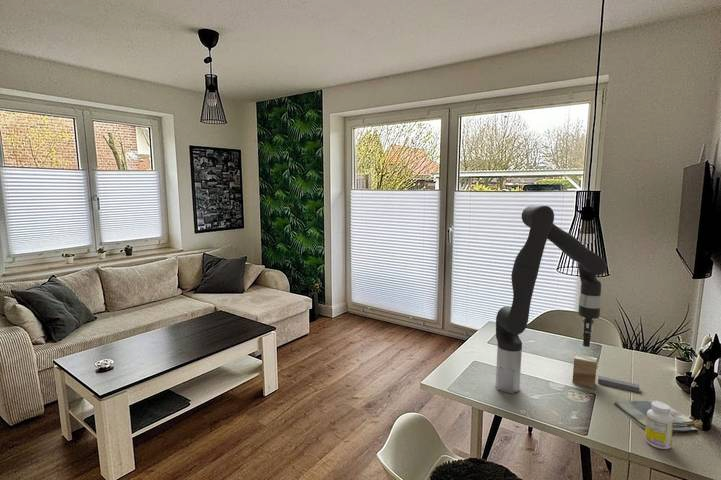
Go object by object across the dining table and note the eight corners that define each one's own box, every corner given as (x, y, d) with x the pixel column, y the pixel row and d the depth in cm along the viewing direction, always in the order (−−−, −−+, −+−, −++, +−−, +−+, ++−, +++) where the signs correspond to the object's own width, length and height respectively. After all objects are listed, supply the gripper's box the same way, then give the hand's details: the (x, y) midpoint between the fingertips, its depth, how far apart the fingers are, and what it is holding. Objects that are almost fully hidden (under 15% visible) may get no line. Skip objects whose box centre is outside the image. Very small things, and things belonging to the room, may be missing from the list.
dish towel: (611, 405, 145) (612, 397, 145) (658, 404, 145) (659, 396, 145) (649, 436, 127) (650, 427, 126) (702, 435, 127) (703, 426, 126)
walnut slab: (594, 388, 156) (596, 362, 155) (572, 382, 161) (574, 357, 159) (595, 383, 160) (597, 358, 159) (573, 378, 164) (575, 353, 163)
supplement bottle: (658, 436, 126) (661, 399, 124) (676, 449, 119) (680, 410, 118) (639, 437, 125) (642, 400, 124) (656, 450, 118) (660, 411, 117)
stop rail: (639, 392, 153) (639, 387, 152) (597, 383, 160) (598, 378, 160) (638, 389, 155) (639, 384, 155) (598, 380, 163) (598, 375, 162)
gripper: (600, 311, 148) (596, 350, 150) (600, 301, 160) (597, 339, 162) (577, 307, 152) (575, 346, 154) (580, 299, 164) (577, 335, 166)
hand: (586, 342), depth 158 cm, fingers open, 8 cm apart
